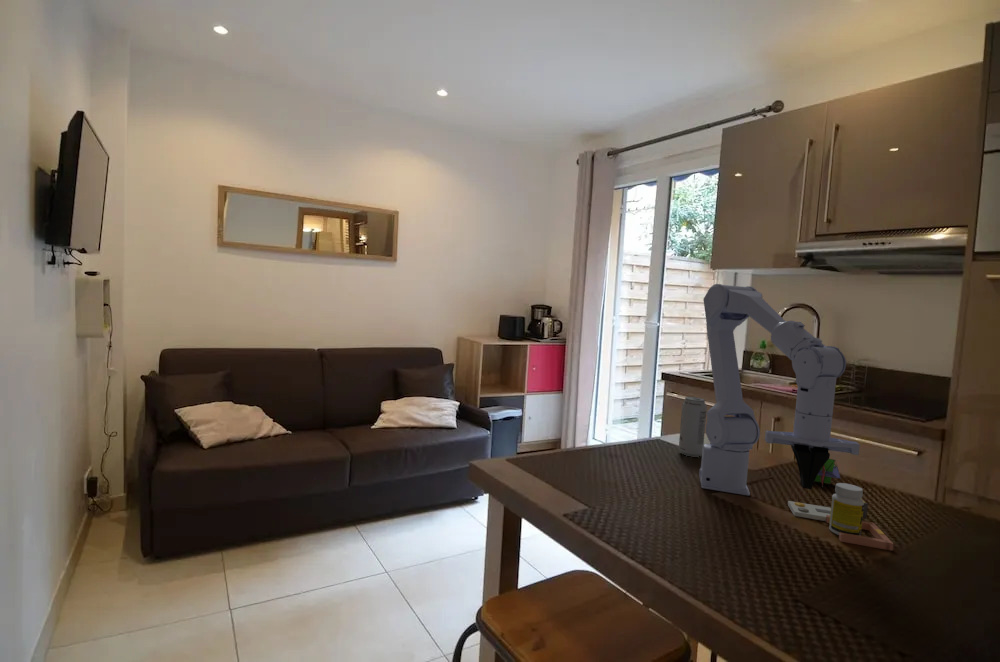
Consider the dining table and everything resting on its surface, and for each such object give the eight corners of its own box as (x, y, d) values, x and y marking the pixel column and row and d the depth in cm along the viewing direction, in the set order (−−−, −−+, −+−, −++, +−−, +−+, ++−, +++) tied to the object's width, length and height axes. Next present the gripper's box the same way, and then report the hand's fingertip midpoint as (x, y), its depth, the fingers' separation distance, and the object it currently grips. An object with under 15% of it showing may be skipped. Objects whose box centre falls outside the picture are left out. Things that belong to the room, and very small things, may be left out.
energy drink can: (681, 450, 140) (686, 395, 139) (705, 454, 136) (709, 399, 136) (675, 454, 135) (680, 398, 134) (699, 459, 131) (704, 401, 131)
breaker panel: (794, 515, 98) (794, 510, 98) (787, 504, 103) (788, 499, 103) (865, 527, 94) (865, 522, 94) (854, 515, 100) (854, 510, 100)
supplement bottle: (865, 541, 88) (870, 493, 88) (834, 536, 90) (839, 489, 89) (854, 529, 93) (858, 484, 93) (824, 525, 94) (829, 480, 94)
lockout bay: (840, 541, 88) (841, 533, 88) (825, 521, 96) (826, 514, 96) (892, 550, 85) (893, 543, 85) (873, 529, 94) (873, 522, 94)
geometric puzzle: (844, 484, 112) (842, 450, 116) (807, 478, 115) (807, 445, 119) (836, 495, 117) (835, 462, 121) (802, 489, 120) (802, 457, 124)
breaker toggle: (847, 515, 96) (849, 500, 96) (842, 509, 99) (844, 495, 99) (866, 518, 95) (867, 503, 95) (860, 512, 98) (862, 497, 98)
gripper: (772, 412, 91) (765, 487, 92) (869, 423, 86) (860, 502, 87) (765, 405, 97) (759, 475, 98) (854, 415, 93) (847, 488, 94)
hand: (806, 487), depth 93 cm, fingers closed
